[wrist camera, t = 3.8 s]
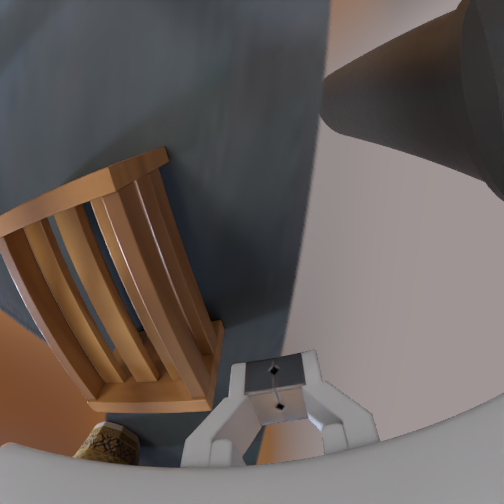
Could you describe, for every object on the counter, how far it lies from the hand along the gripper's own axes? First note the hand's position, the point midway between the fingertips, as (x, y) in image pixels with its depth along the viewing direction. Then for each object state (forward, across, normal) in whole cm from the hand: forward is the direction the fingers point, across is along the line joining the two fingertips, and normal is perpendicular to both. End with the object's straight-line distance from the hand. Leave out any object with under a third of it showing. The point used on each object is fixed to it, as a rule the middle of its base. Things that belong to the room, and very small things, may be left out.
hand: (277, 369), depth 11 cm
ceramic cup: (+14, +26, +26) cm, 39 cm away
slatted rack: (+14, +10, 0) cm, 17 cm away
